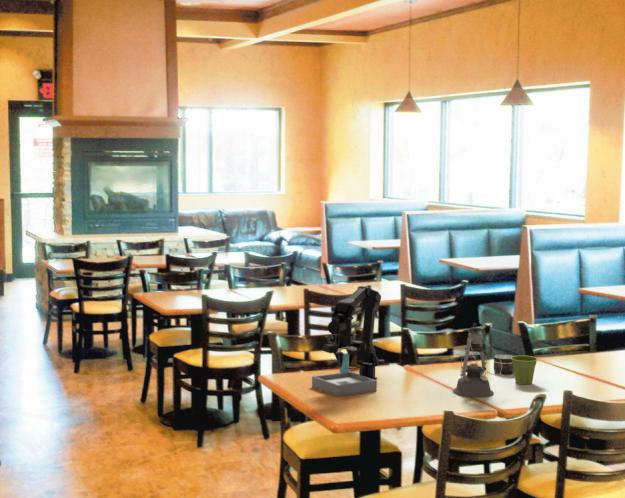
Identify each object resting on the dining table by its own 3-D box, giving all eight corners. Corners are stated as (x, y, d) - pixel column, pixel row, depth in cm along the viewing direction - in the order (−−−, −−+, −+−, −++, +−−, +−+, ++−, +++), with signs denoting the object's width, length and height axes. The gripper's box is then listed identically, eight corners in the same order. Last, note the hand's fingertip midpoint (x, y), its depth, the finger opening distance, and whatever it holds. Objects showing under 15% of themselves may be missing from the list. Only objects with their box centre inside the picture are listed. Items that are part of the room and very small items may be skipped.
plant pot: (510, 379, 441) (510, 354, 440) (536, 380, 439) (537, 356, 438) (509, 385, 430) (510, 360, 428) (537, 386, 427) (538, 361, 426)
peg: (345, 370, 422) (345, 352, 421) (350, 372, 418) (351, 354, 418) (337, 371, 420) (338, 353, 419) (343, 373, 416) (343, 355, 416)
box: (350, 381, 433) (350, 371, 433) (376, 390, 416) (376, 380, 416) (312, 386, 423) (312, 376, 422) (337, 396, 406) (337, 385, 406)
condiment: (366, 366, 465) (366, 341, 464) (351, 368, 461) (352, 343, 459) (357, 363, 471) (357, 339, 470) (343, 365, 467) (343, 340, 465)
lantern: (496, 400, 403) (498, 328, 400) (448, 395, 410) (450, 325, 407) (503, 390, 419) (505, 321, 417) (457, 386, 426) (459, 318, 424)
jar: (518, 372, 456) (518, 356, 456) (510, 376, 448) (510, 359, 447) (498, 369, 462) (498, 353, 461) (490, 373, 453) (490, 357, 452)
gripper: (352, 326, 429) (351, 361, 431) (316, 329, 419) (316, 365, 421) (366, 330, 420) (366, 365, 421) (330, 334, 410) (330, 370, 411)
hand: (344, 366), depth 419 cm, fingers closed on peg, 4 cm apart
